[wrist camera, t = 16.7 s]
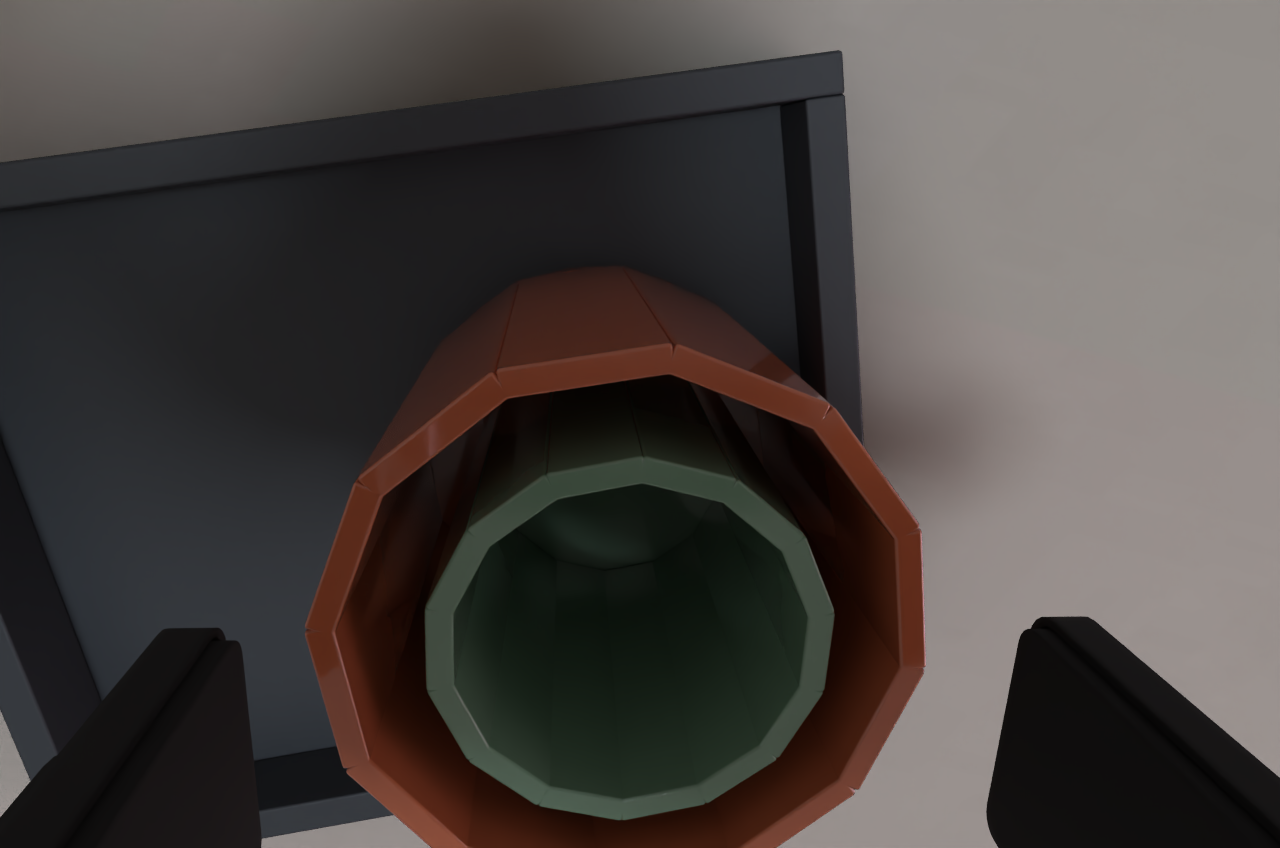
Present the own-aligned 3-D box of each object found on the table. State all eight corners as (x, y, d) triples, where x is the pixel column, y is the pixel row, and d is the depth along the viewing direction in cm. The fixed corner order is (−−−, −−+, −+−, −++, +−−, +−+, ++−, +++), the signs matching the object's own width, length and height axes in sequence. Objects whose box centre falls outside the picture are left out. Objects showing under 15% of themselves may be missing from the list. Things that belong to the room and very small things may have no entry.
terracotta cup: (380, 294, 19) (237, 409, 10) (754, 241, 19) (916, 306, 11) (454, 627, 21) (390, 939, 13) (783, 573, 22) (932, 838, 13)
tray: (-115, 187, 18) (-223, 192, 15) (805, 63, 19) (843, 49, 16) (122, 795, 23) (69, 874, 20) (845, 669, 24) (879, 729, 21)
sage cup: (452, 363, 19) (371, 506, 11) (716, 314, 19) (815, 424, 11) (508, 593, 21) (472, 851, 13) (750, 547, 21) (853, 776, 13)
